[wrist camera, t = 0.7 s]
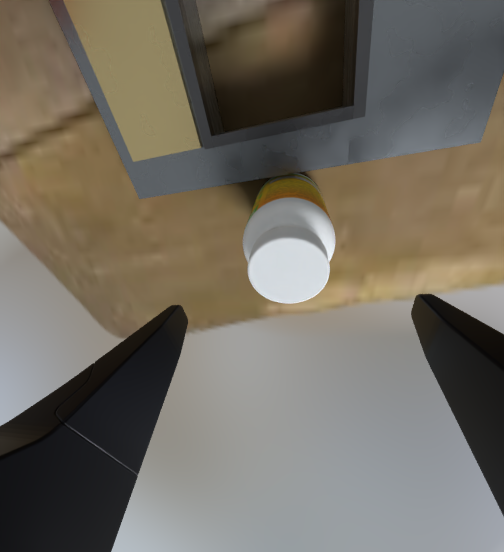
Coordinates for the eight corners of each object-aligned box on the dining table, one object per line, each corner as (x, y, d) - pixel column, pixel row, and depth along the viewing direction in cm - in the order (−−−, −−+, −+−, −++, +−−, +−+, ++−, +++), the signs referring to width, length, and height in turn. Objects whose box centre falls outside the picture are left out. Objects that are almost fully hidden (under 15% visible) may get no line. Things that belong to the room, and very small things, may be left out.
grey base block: (596, -384, 7) (780, -682, 4) (454, 137, 15) (490, 143, 12) (40, -89, 12) (-32, -146, 9) (155, 189, 20) (134, 202, 17)
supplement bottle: (254, 171, 18) (226, 221, 10) (326, 170, 17) (358, 221, 9) (256, 235, 21) (237, 311, 13) (317, 236, 20) (335, 316, 12)
